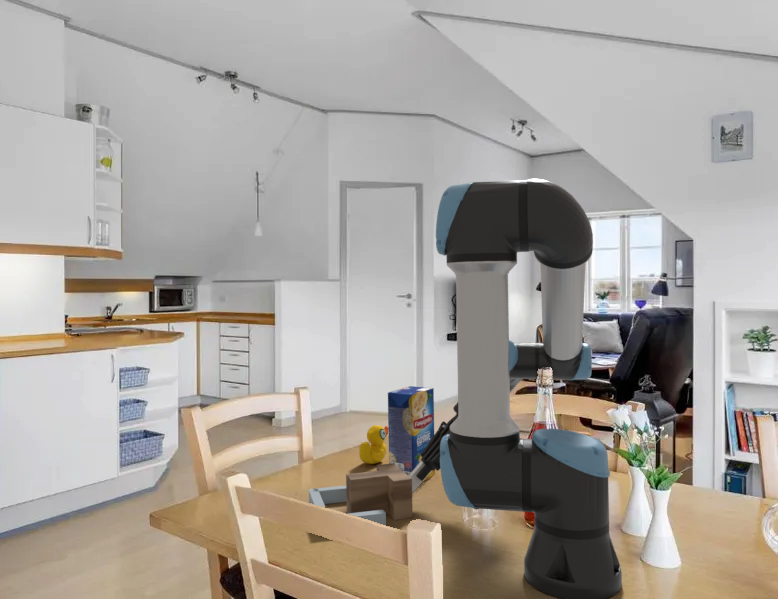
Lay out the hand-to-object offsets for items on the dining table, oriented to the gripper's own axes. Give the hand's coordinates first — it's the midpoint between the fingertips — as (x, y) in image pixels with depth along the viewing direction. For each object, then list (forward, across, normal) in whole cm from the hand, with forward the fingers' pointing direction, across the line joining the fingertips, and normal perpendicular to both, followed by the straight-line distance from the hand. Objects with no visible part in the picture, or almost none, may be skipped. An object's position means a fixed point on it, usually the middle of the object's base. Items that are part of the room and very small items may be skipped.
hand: (407, 488), depth 132 cm
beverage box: (-1, +18, -7) cm, 19 cm away
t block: (+8, -1, +3) cm, 8 cm away
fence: (+12, -1, +7) cm, 14 cm away
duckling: (+3, +34, -3) cm, 34 cm away
